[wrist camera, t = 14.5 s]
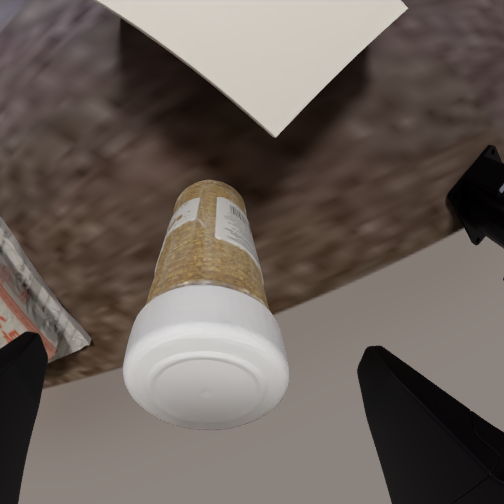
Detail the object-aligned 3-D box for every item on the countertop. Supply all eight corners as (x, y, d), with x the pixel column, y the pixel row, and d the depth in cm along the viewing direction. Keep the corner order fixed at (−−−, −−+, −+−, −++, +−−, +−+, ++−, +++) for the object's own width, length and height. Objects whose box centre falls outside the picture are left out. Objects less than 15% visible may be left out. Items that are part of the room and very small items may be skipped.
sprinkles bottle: (166, 186, 18) (89, 342, 6) (240, 171, 18) (285, 312, 7) (184, 253, 20) (156, 440, 9) (252, 240, 21) (297, 423, 9)
